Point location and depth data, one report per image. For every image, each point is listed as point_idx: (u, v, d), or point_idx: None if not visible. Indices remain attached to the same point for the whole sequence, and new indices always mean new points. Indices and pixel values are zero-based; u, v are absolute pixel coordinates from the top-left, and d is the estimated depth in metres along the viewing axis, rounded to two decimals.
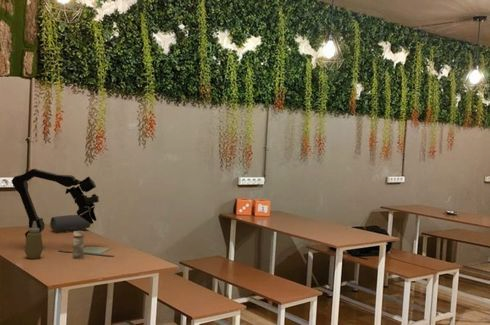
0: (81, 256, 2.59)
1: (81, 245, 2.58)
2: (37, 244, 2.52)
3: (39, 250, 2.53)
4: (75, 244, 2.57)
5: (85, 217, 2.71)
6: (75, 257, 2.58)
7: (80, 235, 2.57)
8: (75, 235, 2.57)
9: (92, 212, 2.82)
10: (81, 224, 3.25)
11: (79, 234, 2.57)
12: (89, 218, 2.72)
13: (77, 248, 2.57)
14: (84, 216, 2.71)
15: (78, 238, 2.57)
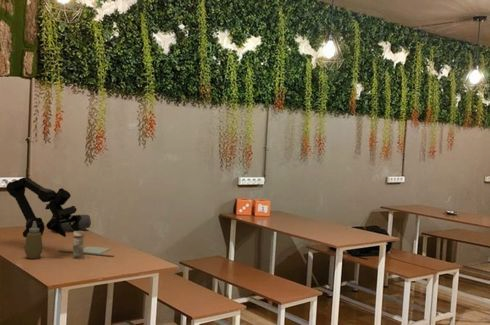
0: (81, 256, 2.59)
1: (81, 245, 2.58)
2: (37, 243, 2.52)
3: (39, 250, 2.53)
4: (75, 244, 2.57)
5: (57, 230, 2.58)
6: (75, 257, 2.58)
7: (80, 235, 2.57)
8: (75, 235, 2.57)
9: (76, 225, 2.67)
10: (81, 224, 3.25)
11: (79, 234, 2.57)
12: (60, 231, 2.57)
13: (77, 248, 2.57)
14: (56, 229, 2.58)
15: (78, 238, 2.57)
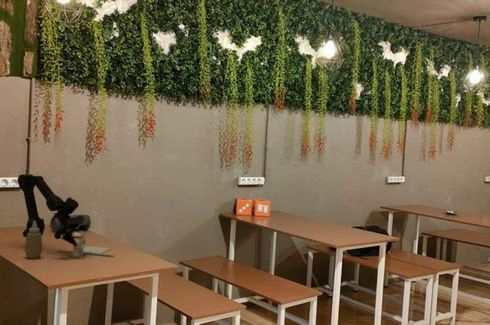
0: (81, 256, 2.59)
1: (81, 245, 2.58)
2: (37, 244, 2.52)
3: (39, 250, 2.53)
4: None
5: (68, 239, 2.57)
6: (75, 257, 2.58)
7: (80, 235, 2.57)
8: (75, 235, 2.57)
9: None
10: (81, 224, 3.25)
11: (79, 234, 2.57)
12: (71, 240, 2.57)
13: (77, 248, 2.57)
14: (67, 239, 2.57)
15: (78, 238, 2.57)
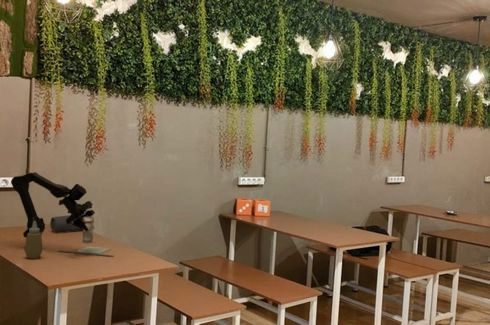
0: (91, 241, 2.66)
1: (92, 230, 2.66)
2: (37, 244, 2.52)
3: (39, 250, 2.53)
4: None
5: (79, 225, 2.63)
6: (86, 241, 2.64)
7: (91, 220, 2.65)
8: (86, 220, 2.64)
9: None
10: None
11: (90, 219, 2.64)
12: (83, 225, 2.63)
13: (88, 233, 2.64)
14: (77, 224, 2.63)
15: (89, 223, 2.64)
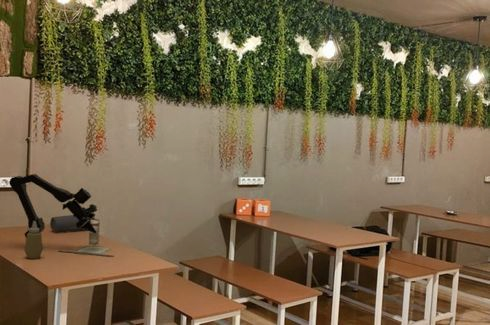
0: (98, 242, 2.77)
1: (98, 232, 2.76)
2: (37, 244, 2.52)
3: (39, 250, 2.53)
4: None
5: (87, 228, 2.72)
6: (94, 243, 2.74)
7: (98, 222, 2.75)
8: (94, 223, 2.74)
9: None
10: None
11: (97, 221, 2.75)
12: (91, 228, 2.72)
13: (96, 235, 2.74)
14: (86, 227, 2.72)
15: (97, 225, 2.74)
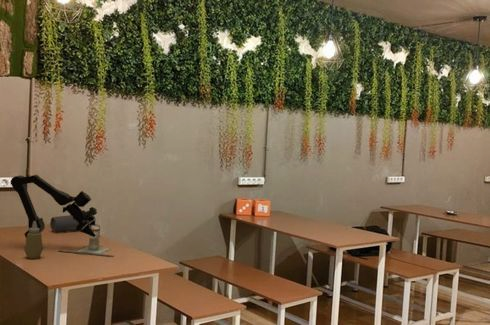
0: (98, 248, 2.77)
1: None
2: (37, 244, 2.52)
3: (39, 250, 2.53)
4: (94, 237, 2.74)
5: (86, 231, 2.70)
6: (94, 249, 2.74)
7: (99, 228, 2.75)
8: (94, 228, 2.74)
9: None
10: None
11: (98, 227, 2.75)
12: (90, 231, 2.70)
13: (96, 241, 2.75)
14: (85, 230, 2.70)
15: (97, 231, 2.75)
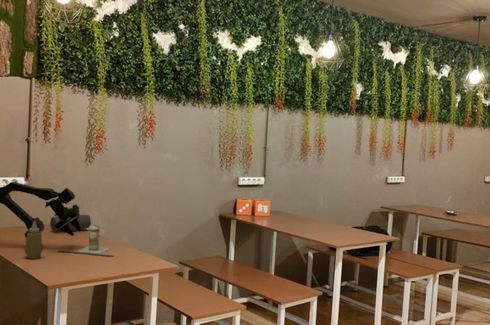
0: (98, 248, 2.77)
1: (98, 237, 2.76)
2: (37, 244, 2.52)
3: (39, 250, 2.53)
4: (93, 237, 2.74)
5: (65, 230, 2.70)
6: (94, 249, 2.74)
7: (98, 228, 2.75)
8: (93, 229, 2.74)
9: (76, 222, 2.80)
10: (81, 224, 3.25)
11: (97, 227, 2.75)
12: (69, 230, 2.70)
13: (96, 241, 2.75)
14: (64, 229, 2.70)
15: (96, 231, 2.74)
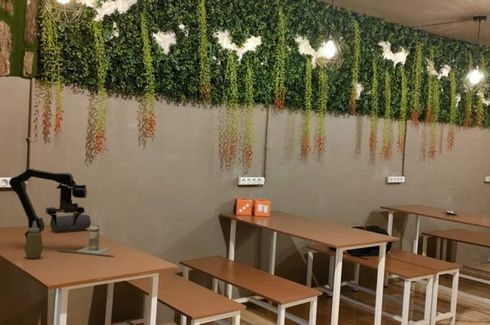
0: (98, 248, 2.77)
1: (98, 237, 2.76)
2: (37, 244, 2.52)
3: (39, 250, 2.53)
4: (93, 237, 2.74)
5: (52, 217, 2.73)
6: (94, 249, 2.74)
7: (98, 228, 2.75)
8: (93, 229, 2.74)
9: (74, 217, 2.78)
10: (81, 224, 3.25)
11: (97, 227, 2.75)
12: (54, 221, 2.72)
13: (96, 241, 2.75)
14: (52, 216, 2.73)
15: (96, 231, 2.74)
